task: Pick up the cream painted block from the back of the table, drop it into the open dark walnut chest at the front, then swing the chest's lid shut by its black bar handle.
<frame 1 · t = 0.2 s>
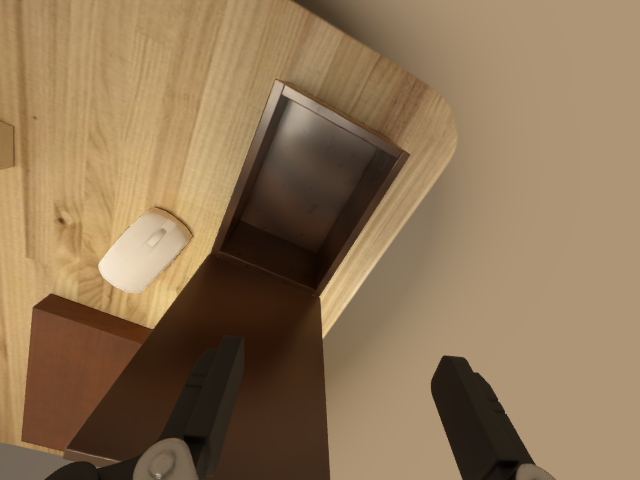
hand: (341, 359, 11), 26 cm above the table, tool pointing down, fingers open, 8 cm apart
lid: (238, 362, 22), point 19 cm above the table, hinge at 85.0°
computer mouse: (153, 245, 39), on the table
brown flat wooden slab: (134, 396, 55), on the table
chest: (306, 182, 34), on the table
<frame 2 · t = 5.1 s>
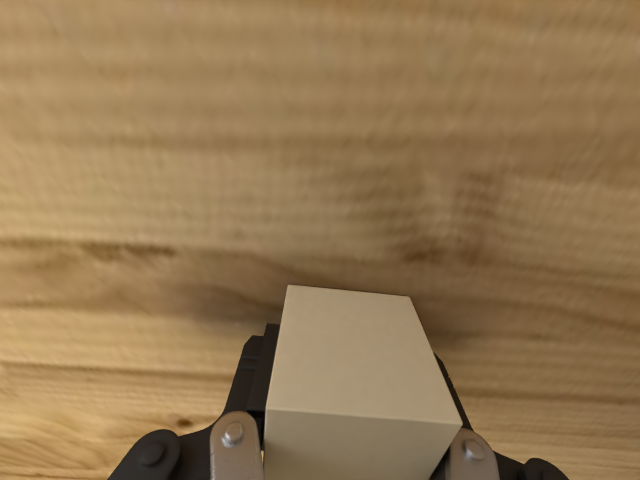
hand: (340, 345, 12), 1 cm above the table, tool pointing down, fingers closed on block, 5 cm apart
block: (340, 334, 13), on the table, touching gripper
when the fingers open (5 cm above the table, at t = 16.3 s): block drops 3 cm, resting on chest.
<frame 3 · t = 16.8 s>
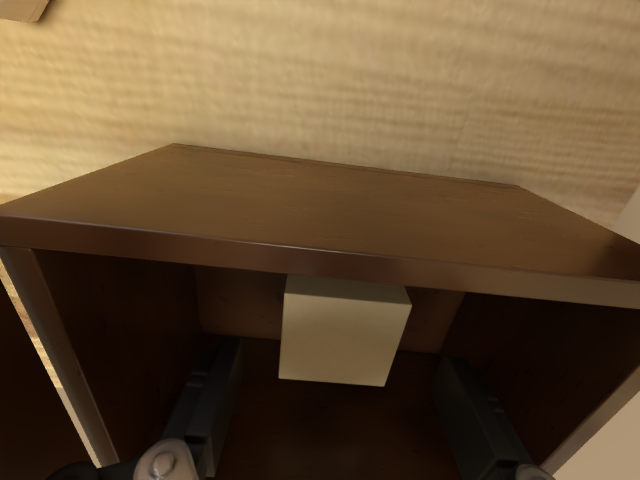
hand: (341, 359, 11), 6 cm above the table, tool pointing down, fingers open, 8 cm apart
block: (334, 276, 16), point 1 cm above the table, touching chest
chest: (333, 268, 17), on the table
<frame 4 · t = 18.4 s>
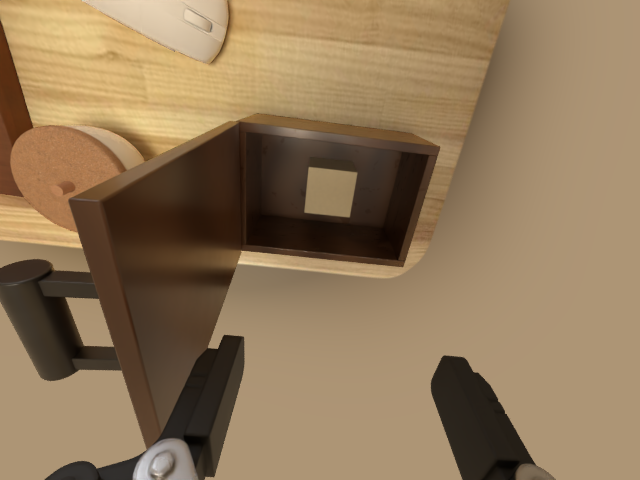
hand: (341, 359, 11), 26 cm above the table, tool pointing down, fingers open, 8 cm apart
lid: (169, 239, 18), point 19 cm above the table, hinge at 86.2°
block: (328, 179, 34), point 1 cm above the table, touching chest
computer mouse: (164, 1, 27), on the table
chest: (328, 178, 35), on the table
trinket box: (122, 166, 34), on the table
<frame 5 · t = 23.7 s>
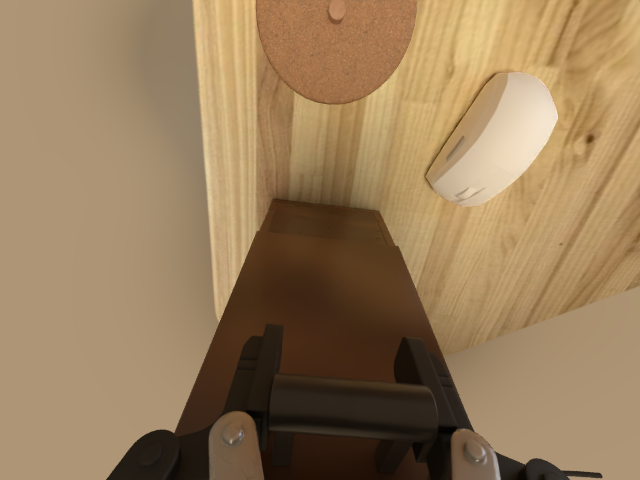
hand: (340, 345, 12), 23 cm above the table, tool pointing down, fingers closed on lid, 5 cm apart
lid: (334, 294, 16), point 19 cm above the table, hinge at 86.2°, touching gripper
computer mouse: (477, 141, 30), on the table
chest: (318, 266, 37), on the table
trinket box: (332, 35, 26), on the table
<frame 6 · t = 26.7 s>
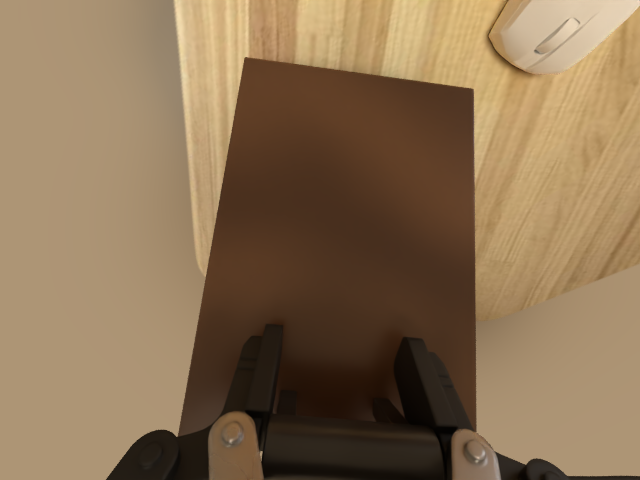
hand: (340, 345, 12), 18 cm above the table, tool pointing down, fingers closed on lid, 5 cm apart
lid: (355, 229, 12), point 17 cm above the table, hinge at 37.1°, touching gripper
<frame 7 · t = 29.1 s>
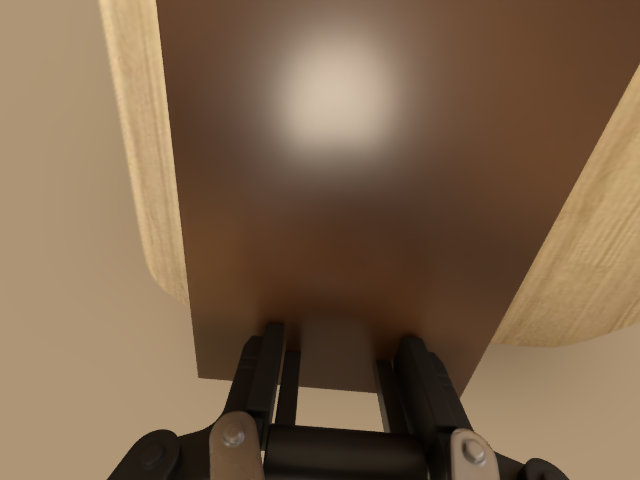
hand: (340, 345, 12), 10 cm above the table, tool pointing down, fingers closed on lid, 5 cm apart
lid: (379, 235, 8), point 12 cm above the table, hinge at -0.2°, touching chest, gripper
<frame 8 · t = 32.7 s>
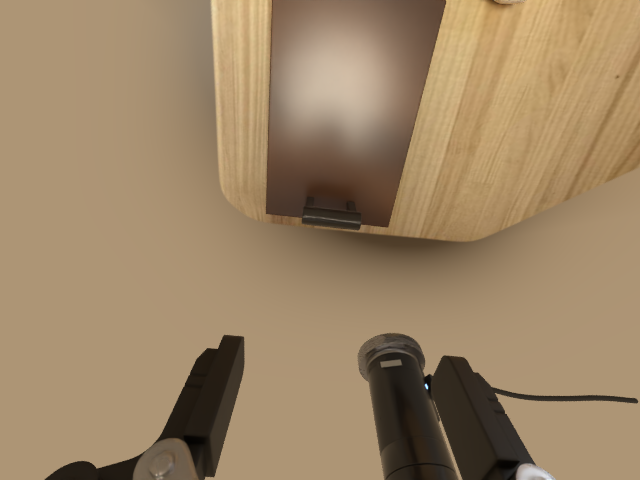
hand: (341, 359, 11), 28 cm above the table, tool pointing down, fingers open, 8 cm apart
lid: (342, 127, 23), point 12 cm above the table, hinge at -0.2°, touching chest
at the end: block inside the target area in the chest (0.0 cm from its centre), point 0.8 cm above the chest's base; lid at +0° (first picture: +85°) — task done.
